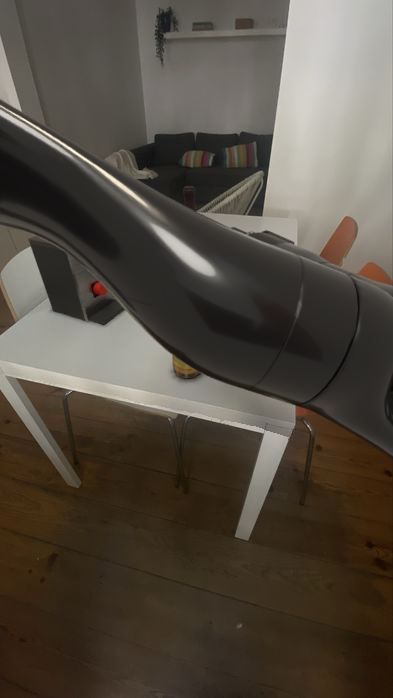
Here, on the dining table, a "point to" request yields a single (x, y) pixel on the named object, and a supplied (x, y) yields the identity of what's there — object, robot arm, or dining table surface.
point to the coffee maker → (71, 285)
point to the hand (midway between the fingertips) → (201, 240)
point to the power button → (99, 289)
